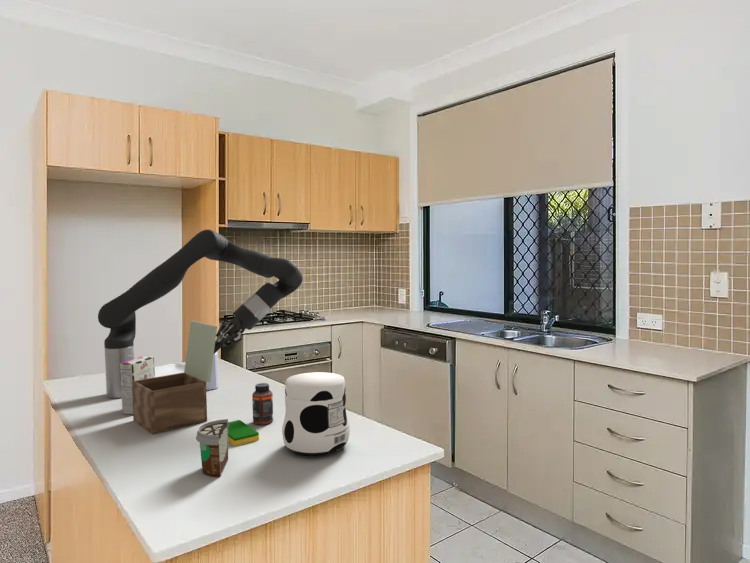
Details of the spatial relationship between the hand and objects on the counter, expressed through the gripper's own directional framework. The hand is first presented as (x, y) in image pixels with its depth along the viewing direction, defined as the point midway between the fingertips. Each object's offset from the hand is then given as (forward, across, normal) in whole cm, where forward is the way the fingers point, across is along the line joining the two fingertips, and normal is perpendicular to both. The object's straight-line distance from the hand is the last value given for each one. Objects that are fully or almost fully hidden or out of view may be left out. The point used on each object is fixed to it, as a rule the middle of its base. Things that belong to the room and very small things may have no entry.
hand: (210, 351), depth 163 cm
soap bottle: (+13, -31, +25) cm, 42 cm away
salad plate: (+21, -52, +23) cm, 61 cm away
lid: (+2, -4, -1) cm, 5 cm away
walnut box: (+22, +1, +7) cm, 23 cm away
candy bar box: (+29, -16, +6) cm, 34 cm away
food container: (+17, +42, +1) cm, 45 cm away
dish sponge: (+11, +24, +12) cm, 29 cm away
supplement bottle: (+4, +18, +20) cm, 27 cm away
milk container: (-2, +44, +19) cm, 48 cm away
